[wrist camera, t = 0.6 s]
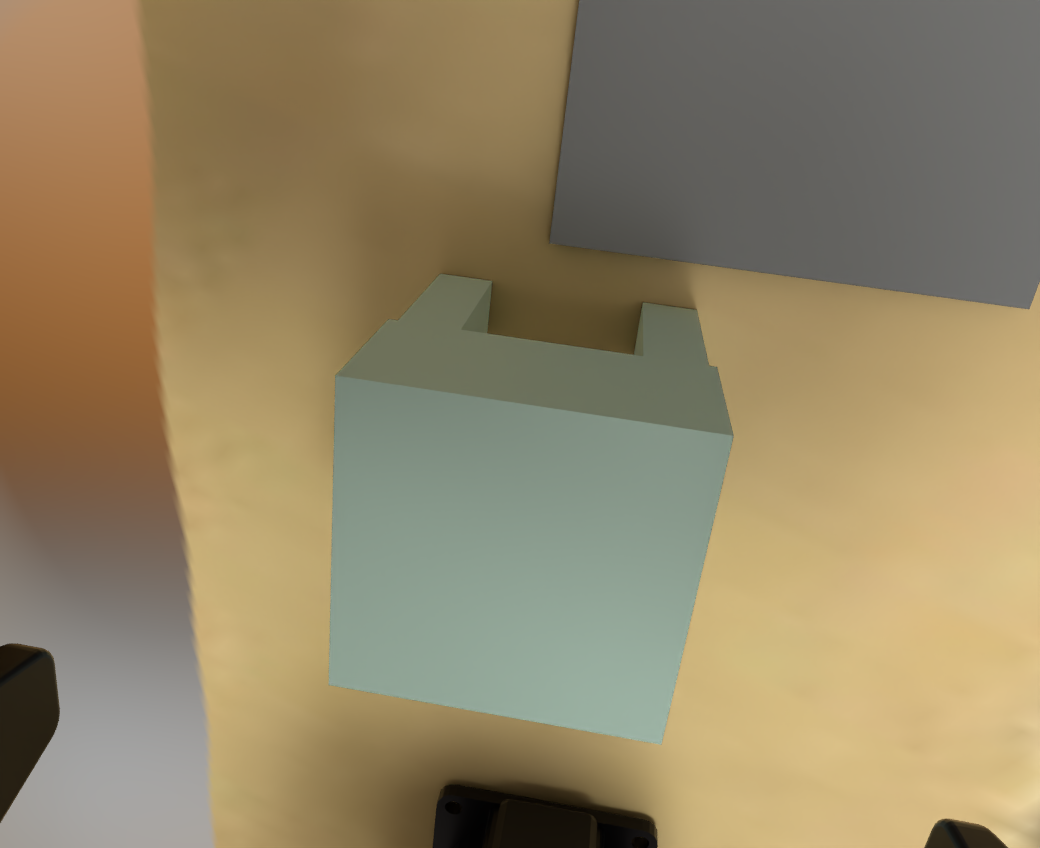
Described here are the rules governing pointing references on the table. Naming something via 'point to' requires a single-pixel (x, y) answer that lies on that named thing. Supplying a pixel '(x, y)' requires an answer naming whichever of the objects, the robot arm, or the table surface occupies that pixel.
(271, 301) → the table surface
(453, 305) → the notched green block
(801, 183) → the mat
